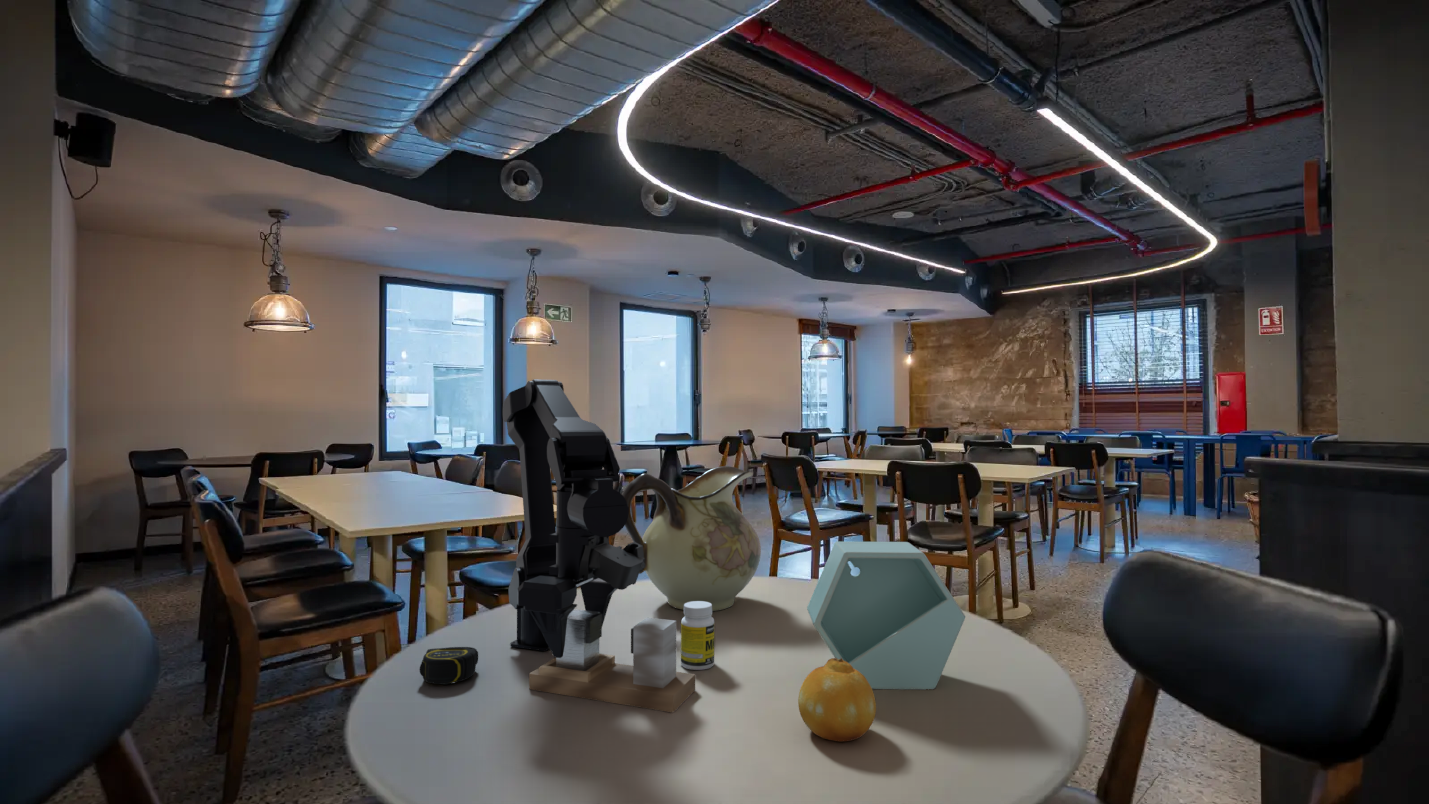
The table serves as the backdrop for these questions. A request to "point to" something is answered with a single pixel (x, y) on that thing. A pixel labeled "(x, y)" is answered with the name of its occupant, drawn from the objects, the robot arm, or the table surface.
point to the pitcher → (697, 539)
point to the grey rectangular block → (581, 640)
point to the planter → (886, 614)
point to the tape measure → (448, 664)
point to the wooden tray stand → (627, 673)
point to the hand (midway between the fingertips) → (577, 645)
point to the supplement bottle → (697, 636)
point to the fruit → (837, 702)
